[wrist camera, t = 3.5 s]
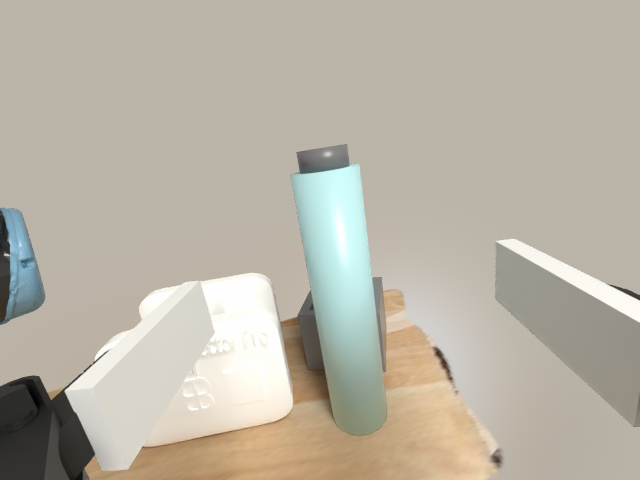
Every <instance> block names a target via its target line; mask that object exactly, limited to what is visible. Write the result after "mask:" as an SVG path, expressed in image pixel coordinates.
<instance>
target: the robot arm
mask: <svg viewBox="0 0 640 480" xmlns="http://www.w3.org/2000/svg"><path fill="white" fill-rule="evenodd" d="M495 288H496V289H495V291H496V292H495V294H496V295H495V298H496V300H497V301H498V302H499V303H500V304H501V305H502V306H503V307H504V308H505V309H507V310H508V311H509V312H510V313H511V314H512V315H513V316H514V317H515V318H516V319H517V320H519V321H520V322H521V323H522V324H523V325H524V326H525V327H526V328H527V329H528V330H529V331H530V332H531V333H533V334H534V335H535V336H536V337H537V338H538V339H539V340H540V341H541V342H543V343H544V344H545V345H546V346H547V347H548V348H549V349H550V350H551V351H552V352H553V353H554V354H555V355H556V356H558V357H559V358H560V359H561V360H562V361H563V362H564V363H565V364H566V365H567V366H568V367H570V368H571V369H572V370H573V371H574V372H575V373H576V374H577V375H578V376H579V377H580V378H581V379H582V380H584V381H585V382H586V383H587V384H588V385H589V386H590V387H591V388H592V389H593V390H594V391H596V392H597V393H598V394H599V395H600V396H601V397H602V398H603V399H604V400H605V401H606V402H608V403H609V404H610V405H611V406H612V407H613V408H614V409H615V410H616V411H617V412H618V413H619V414H621V415H622V416H623V417H624V418H625V419H626V420H627V421H628V422H629V423H630V424H631V425H632V426H633V427H639V426H640V295H638V294H636V293H634V292H632V291H629V290H627V289H623V288H619V287H616V286H613V285H609V284H605V283H603V282H601V281H599V280H597V279H595V278H593V277H591V276H589V275H587V274H585V273H583V272H581V271H579V270H577V269H575V268H572V267H571V266H569V265H567V264H564V263H563V262H560V261H558V260H556V259H554V258H552V257H550V256H548V255H546V254H544V253H542V252H540V251H538V250H536V249H534V248H532V247H530V246H528V245H526V244H524V243H522V242H520V241H518V240H516V239H508V240H500V241H496V283H495ZM44 300H45V291H44V287H43V283H42V280H41V276H40V272H39V269H38V265H37V262H36V258H35V255H34V251H33V248H32V244H31V241H30V238H29V234H28V231H27V227H26V224H25V221H24V218H23V215H22V213H21V212H20V211H19V210H17V209H14V208H13V209H6V208H0V325H1V324H5V323H7V322H8V321H10V320H11V319H13V318H16V317H19V316H21V315H24V314H27V313H30V312H32V311H35V310H36V309H38V308H39V307H40V306H41V305H42V304H43V302H44ZM214 333H215V331H214V327H213V324H212V320H211V317H210V313H209V310H208V306H207V303H206V299H205V296H204V292H203V289H202V285H201V282H200V281H192V282H185V283H183V284H182V285H181V286H180V287H179V288H178V289H177V290H175V291H174V292H173V293H172V294H171V295H170V296H169V297H168V298H167V299H166V300H164V301H163V302H162V303H161V304H160V305H159V306H158V307H157V308H156V309H154V310H153V311H152V312H151V313H150V314H149V315H148V316H147V317H146V318H145V319H143V320H142V321H141V322H140V323H139V324H138V325H137V326H136V327H135V328H133V329H132V330H131V331H130V332H129V333H128V334H127V335H126V336H125V337H124V338H122V339H121V340H120V341H119V342H118V343H117V344H116V345H115V346H114V347H112V348H111V349H109V350H108V351H106V352H105V353H103V354H102V355H101V356H100V357H99V358H98V359H97V360H96V361H95V362H94V363H93V365H90V366H89V367H88V368H87V369H86V370H84V373H82V374H80V375H79V376H78V377H77V378H76V379H74V380H73V381H72V382H71V383H70V384H69V385H68V386H67V387H65V388H64V389H63V390H62V391H61V392H60V393H59V394H58V395H57V396H55V397H54V398H53V399H52V400H51V399H50V397H49V395H48V393H47V391H46V389H45V387H44V385H43V383H42V381H41V379H40V377H39V376H27V377H23V378H20V379H17V380H14V381H11V382H9V383H7V384H5V385H2V386H0V480H89V477H88V475H87V473H86V471H85V469H84V468H85V467H86V465H87V464H88V463H89V462H90V460H91V459H92V458H93V456H94V455H95V457H96V459H97V461H98V464H99V466H100V468H101V470H102V471H114V470H126V469H128V468H129V467H130V465H131V464H132V462H133V461H134V459H135V457H136V456H137V454H138V453H139V451H140V450H141V448H142V446H143V445H144V443H145V442H146V440H147V439H148V437H149V435H150V434H151V432H152V431H153V429H154V428H155V426H156V424H157V423H158V421H159V420H160V418H161V417H162V415H163V413H164V412H165V410H166V409H167V407H168V406H169V404H170V402H171V401H172V399H173V398H174V396H175V395H176V393H177V391H178V390H179V388H180V387H181V385H182V384H183V382H184V380H185V379H186V377H187V376H188V374H189V373H190V371H191V369H192V368H193V366H194V365H195V363H196V362H197V360H198V358H199V357H200V355H201V354H202V352H203V351H204V349H205V348H206V346H207V344H208V343H209V341H210V340H211V338H212V337H213V335H214Z"/></svg>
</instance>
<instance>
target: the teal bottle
mask: <svg viewBox="0 0 640 480" xmlns="http://www.w3.org/2000/svg"><path fill="white" fill-rule="evenodd" d="M297 158H298V164H299V170H300V172H298V173H295V174H291V180H292V186H293V192H294V197H295V203H296V209H297V214H298V220H299V225H300V231H301V237H302V243H303V248H304V253H305V260H306V265H307V271H308V277H309V282H310V288H311V294H312V299H313V305H314V311H315V316H316V322H317V328H318V333H319V339H320V345H321V350H322V356H323V362H324V367H325V373H326V379H327V384H328V390H329V396H330V401H331V407H332V413H333V418H334V421H335V423H336V424H337V426H338V427H339V428H340V429H341V430H343V431H345V432H346V433H349V434H353V435H366V434H370V433H373V432H375V431H376V430H378V429H379V428H380V427H381V426H382V425H383V424H384V422H385V420H386V418H387V404H386V395H385V386H384V378H383V369H382V360H381V351H380V342H379V333H378V325H377V316H376V307H375V298H374V289H373V280H372V272H371V263H370V254H369V245H368V236H367V227H366V218H365V210H364V201H363V193H362V183H361V175H360V166H359V164H349V157H348V149H347V144H345V145H338V146H332V147H326V148H319V149H313V150H307V151H301V152H297Z"/></svg>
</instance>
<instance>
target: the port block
mask: <svg viewBox="0 0 640 480" xmlns="http://www.w3.org/2000/svg"><path fill="white" fill-rule="evenodd" d="M372 280H373V289H374V298H375V307H376V316H377V325H378V333H379V342H380V351H381V360H382V369H383V372H386V318H385V307H384V297H383V287H382V277H375V278H372ZM298 320H299V325H300V330H301V335H302V341H303V346H304V351H305V357H306V362H307V367H308V370H325V367H324V362H323V356H322V350H321V345H320V339H319V333H318V328H317V322H316V316H315V311H314V305H313V299H312V294H311V290H310V292H309V294H308V296H307V298H306V300H305V302H304V304H303V306H302V308H301V310H300V312H299V314H298Z"/></svg>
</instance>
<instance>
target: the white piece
mask: <svg viewBox="0 0 640 480" xmlns="http://www.w3.org/2000/svg"><path fill="white" fill-rule="evenodd" d="M201 285H202V289H203V292H204V296H205V299H206V303H207V306H208V310H209V313H210V317H211V320H212V324H213V327H214V331H215V333H214V335H213V337H212V338H211V340H210V341H209V343H208V344H207V346H206V348H205V349H204V351H203V352H202V354H201V355H200V357H199V358H198V360H197V362H196V363H195V365H194V366H193V368H192V369H191V371H190V373H189V374H188V376H187V377H186V379H185V380H184V382H183V384H182V385H181V387H180V388H179V390H178V391H177V393H176V395H175V396H174V398H173V399H172V401H171V402H170V404H169V406H168V407H167V409H166V410H165V412H164V413H163V415H162V417H161V418H160V420H159V421H158V423H157V424H156V426H155V428H154V429H153V431H152V432H151V434H150V435H149V437H148V439H147V440H146V442H145V443H144V445H143V446H145V447H154V446H160V445H167V444H172V443H177V442H182V441H186V440H191V439H194V438H199V437H204V436H208V435H213V434H218V433H223V432H228V431H232V430H239V429H244V428H249V427H254V426H259V425H263V424H266V423H271V422H274V421H277V420H279V419H281V418H283V417H285V416H286V415H287V414H288V413H289V412H290V411H291V409H292V407H293V387H292V383H291V378H290V373H289V368H288V364H287V359H286V354H285V350H284V337H283V332H282V328H281V323H280V318H279V313H278V309H277V304H276V299H275V294H274V289H273V285H272V282H271V280H270V279H269V278H268V277H266V276H264V275H262V274H259V273H247V274H242V275H236V276H230V277H225V278H219V279H214V280H208V281H202V282H201ZM180 286H181V285H180ZM180 286H174V287H168V288H163V289H158V290H155V291H153V292H152V293H150V294H149V295H148V296H147V297H146V298H145V299H144V300H143V301H142V302H141V304H140V306H139V313H140V316H141V319H142V320H143V319H145V318H146V317H147V316H148V315H149V314H150V313H151V312H152V311H153V310H154V309H156V308H157V307H158V306H159V305H160V304H161V303H162V302H163V301H164V300H166V299H167V298H168V297H169V296H170V295H171V294H172V293H173V292H174V291H175V290H177V289H178V288H179V287H180ZM130 331H131V330H129V331H125V332H121V333H119V334H117V335H115V336H114V337H112V338H111V339H110V340H109V341H108V342H107V343H106V344H105V345H104V346H103V347H102V348H101V349H100V350H99V352H98V353H97V354H96V356H95V360H94V362H95V361H96V360H97V359H98V358H99V357H100V356H101V355H102V354H103V353H105V352H106V351H108V350H109V349H111V348H112V347H114V346H115V345H116V344H117V343H118V342H119V341H120V340H121V339H122V338H124V337H125V336H126V335H127V334H128V333H129V332H130Z"/></svg>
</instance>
